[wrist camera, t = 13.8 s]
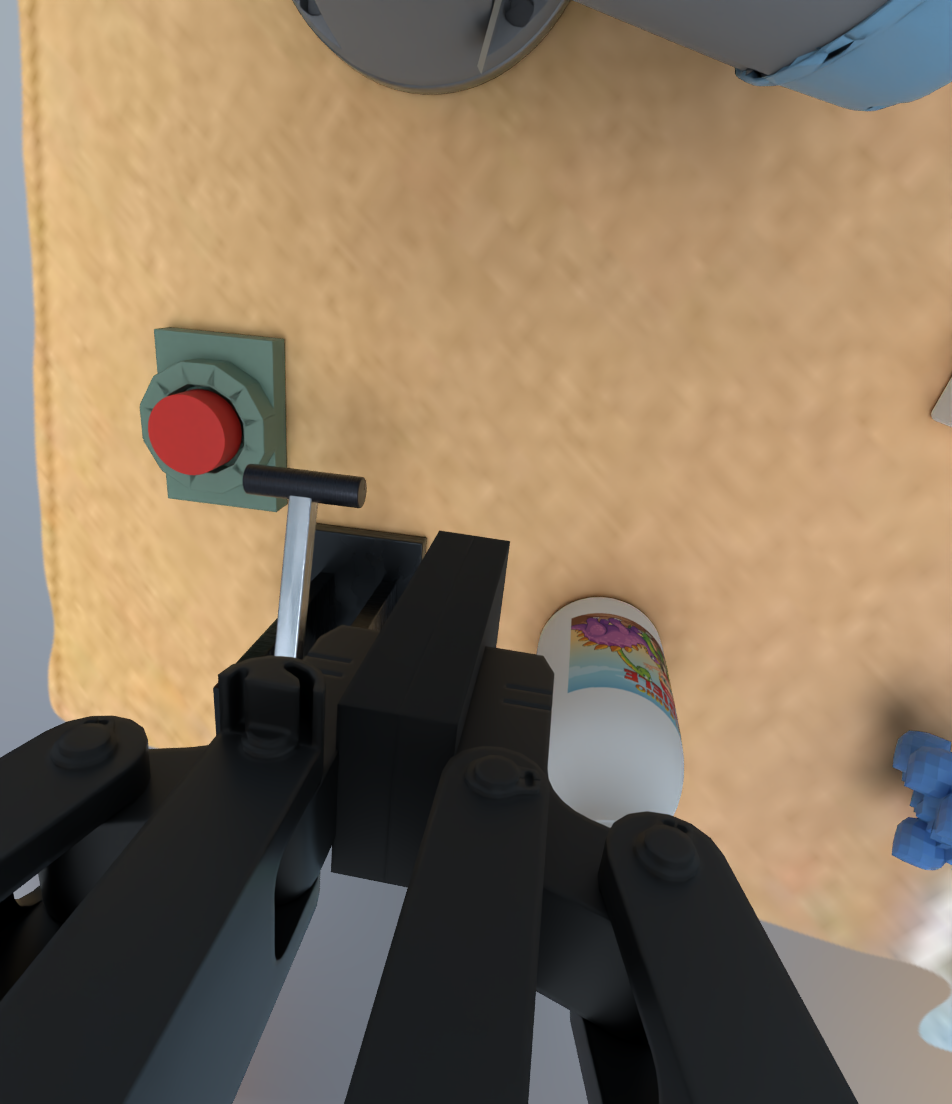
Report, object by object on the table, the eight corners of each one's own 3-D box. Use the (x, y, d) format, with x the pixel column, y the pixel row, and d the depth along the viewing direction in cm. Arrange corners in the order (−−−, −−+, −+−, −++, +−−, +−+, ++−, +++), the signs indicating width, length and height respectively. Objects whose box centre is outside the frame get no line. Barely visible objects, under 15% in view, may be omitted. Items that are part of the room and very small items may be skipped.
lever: (260, 464, 34) (238, 462, 31) (370, 477, 33) (356, 476, 31) (237, 725, 35) (214, 742, 33) (343, 742, 34) (327, 761, 32)
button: (165, 384, 39) (143, 390, 37) (240, 393, 38) (222, 398, 36) (171, 461, 40) (151, 470, 38) (243, 470, 40) (226, 479, 38)
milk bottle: (595, 721, 46) (603, 1013, 28) (513, 644, 45) (463, 894, 26) (687, 652, 43) (764, 925, 25) (602, 568, 42) (617, 788, 24)
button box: (167, 326, 41) (131, 330, 37) (287, 339, 40) (260, 343, 37) (180, 490, 44) (148, 506, 41) (289, 504, 44) (266, 521, 40)
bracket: (302, 521, 44) (176, 627, 30) (426, 537, 43) (354, 653, 29) (304, 658, 48) (192, 809, 34) (418, 675, 47) (350, 837, 33)
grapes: (808, 719, 44) (885, 866, 33) (915, 669, 42) (1036, 808, 31) (896, 846, 46) (995, 1024, 35) (1001, 805, 44) (1142, 980, 33)
